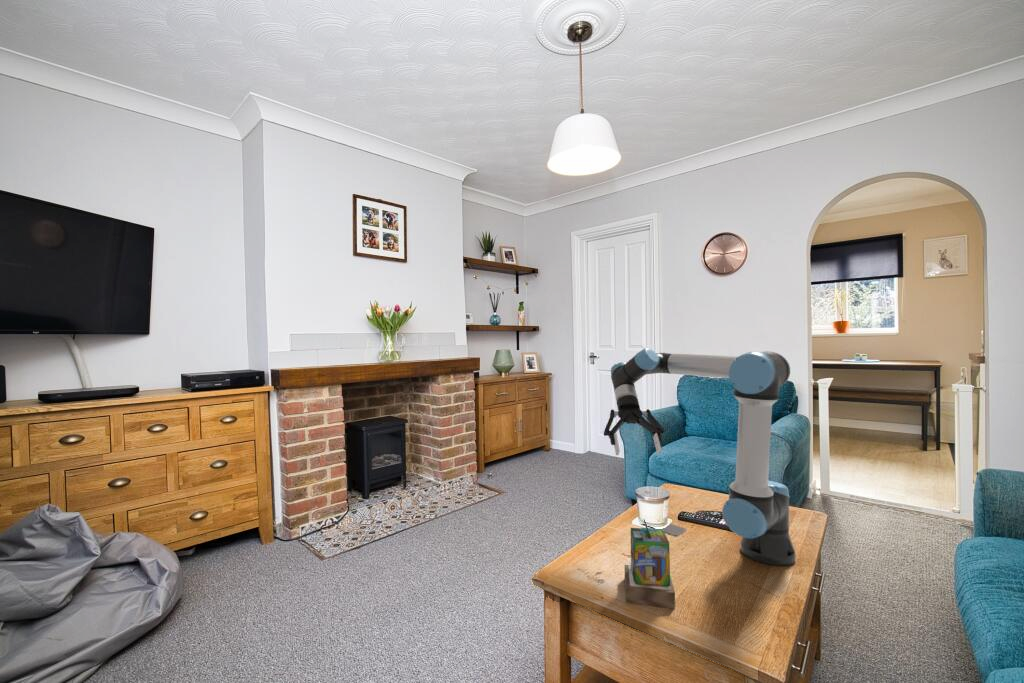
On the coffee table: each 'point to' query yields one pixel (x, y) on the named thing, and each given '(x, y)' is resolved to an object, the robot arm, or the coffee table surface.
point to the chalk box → (650, 556)
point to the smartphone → (674, 530)
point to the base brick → (648, 592)
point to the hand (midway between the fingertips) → (638, 453)
